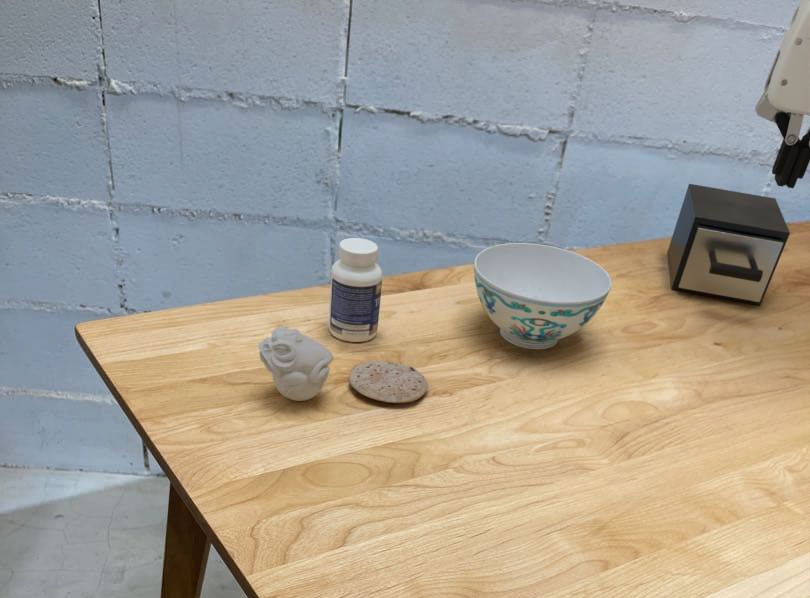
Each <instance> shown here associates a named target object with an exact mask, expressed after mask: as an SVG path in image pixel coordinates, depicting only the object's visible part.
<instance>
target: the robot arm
mask: <svg viewBox="0 0 810 598" xmlns="http://www.w3.org/2000/svg"><path fill="white" fill-rule="evenodd" d="M772 61H773V62H772V64H771V66H770V68H769V72H768V75H767V78H766V81H765V84H764V90H763V93H762V95H761V96H760V98H759V99H758V101H757V103H756V104H755V107H754V111H755V113H756V115H757V116H759V117H760V118H763V119H765V120H767V121H769V122H771V123H774V124H775V125H776V127H777V128H778V130H779V133H780V134H781V137H782V142H781V144H780V146H779V149H778V152H777V155H776V158H775V160H774V162H773V165H772V169H771V172H772V175H774V180H775V183H776V186H777V187H784V186H786V187H787V188H788V189H794V188H795V186H796V184H797V181H798V179H800V180H802V179H803V178H804V176H805V174H806V172H807V169H808V167H809V164H810V126H808V128H807V130H806V132H805V134H804V135H802V137H801V138H800V132H801V128H802V124H803V121H804V116H809V117H810V0H800V2H799V4H798V6H797V7H796V10H795V12H794V14H793V16H792V18H791V20H790V23H789V24H788V27H787V29H786V31H785V34H784V36H783V38H782V39H781V43H780V44H779V47H778V49H777V51H776V54H775V57H774V59H773V60H772Z"/></svg>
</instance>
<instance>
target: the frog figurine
mask: <svg viewBox="0 0 810 598" xmlns="http://www.w3.org/2000/svg"><path fill="white" fill-rule="evenodd" d="M257 347H258V349H259V358H260V361H261V363H263V365H264V367H265V368H266V370H267V371H269V372H271V375H272V380H273V384H274V386H275V388H276V390H277V391H278V392H279V393H280V394H281V395H282V396H283V397H285V398H286V399H289V400H291V401H295V402H304V401H308V400H311V399H313V398H314V397H316V396H317V395H318V394H319V393H320V392H321V390H322V389H323V387H324V385H325V384H326V383H327V381H328V377H329V374H330V367H329V365H330V364H331V363H332V362H333V361H334V356H333V354H332V352H331V350H329V349H328V348H327V347H326V346H324V345H323V344H322V343H321V342H319V341H318V340H315V339H314V338H311V337H309V336H307V335H305V334H303V333H301V331H300V330H298V329H297V328H294V329H293V328H287V327H286V326H283V325H282V326H277V327H276V328H274V329H273V330H272V332H271V337H270V336H266V337H265V338H264V339H263V340H261V341H259V342H258V345H257Z"/></svg>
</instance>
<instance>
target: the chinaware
mask: <svg viewBox="0 0 810 598" xmlns="http://www.w3.org/2000/svg"><path fill="white" fill-rule="evenodd" d="M473 274H474V283H475V289H476V293H477V296H478V300H479V302H480V304H481V306H482V309H483V310H484V312H485V313H486V315H487V316H488V317H489V319H490V321H492V323H494V325H496V326H497V327H498V328H499V332H500V335H501V337H502V338H503V339H504V340H505V341H507V342H508V343H510V344H512V345H514V346H516V347H519V348H522V349H528V350H546V349H549V348H552V347H554V346H555V345H556V344H557V343H558V341H559V340H561V339H564V338H566V337H568V336H570V335H573V334H575V333H576V332H578V331H579V330H581V329H582V328H583V327H584V326H586V325H587V324H588V323H590V321H591V320H592V319H593V318H594V317H595V316H596V314H597V313H598V312H599V310H600V309H601V307H602V306H603V304H604V302H605V301H606V299H607V297H608V296H609V293H610V291H611V288H612V284H613V283H612V279H611V277H610V274H609V273H608V272H607V271H606V270H605V269H604V268H603V267H602V266H601V265H600V264H598V263H597V262H595V261H594V260H592V259H590V258H588V257H586V256H585V255H582V254H580V253H577V252H574V251H571V250H568V249H566V248H565V249H564V248H562V247H556V246H552V245H547V244H540V243H530V242H509V243H501V244H496V245H495V244H494V245H491V246H489V247H486V248H484V249H483V250H481V251H480V252H479V253H478V254H477V255H476V256H475V258H474V262H473Z"/></svg>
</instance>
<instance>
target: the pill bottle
mask: <svg viewBox="0 0 810 598" xmlns="http://www.w3.org/2000/svg"><path fill="white" fill-rule="evenodd" d="M378 256H379V246H378V245H377V243H376V242H374V241H372V240H370V239H366V238H362V237H350V238H344V239H342V240H341V241H340V242H339V245H338V258H339V259H338V260H336V261H335V262H334V263H333V265H332V267H331V272H330V287H329V288H330V290H329V291H330V293H329V311H328V330H329V333H331V335H332V336H333V337H335V338H336V339H339V340H341V341H345V342H350V343H360V342H367V341H371V340H372V339H373V338H374V337H376V335H377V334H378V327H379V318H380V307H381V299H382V285H383V269H382V268H381V266H380V265H379V264H378V263H377V262H378V258H379V257H378Z"/></svg>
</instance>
